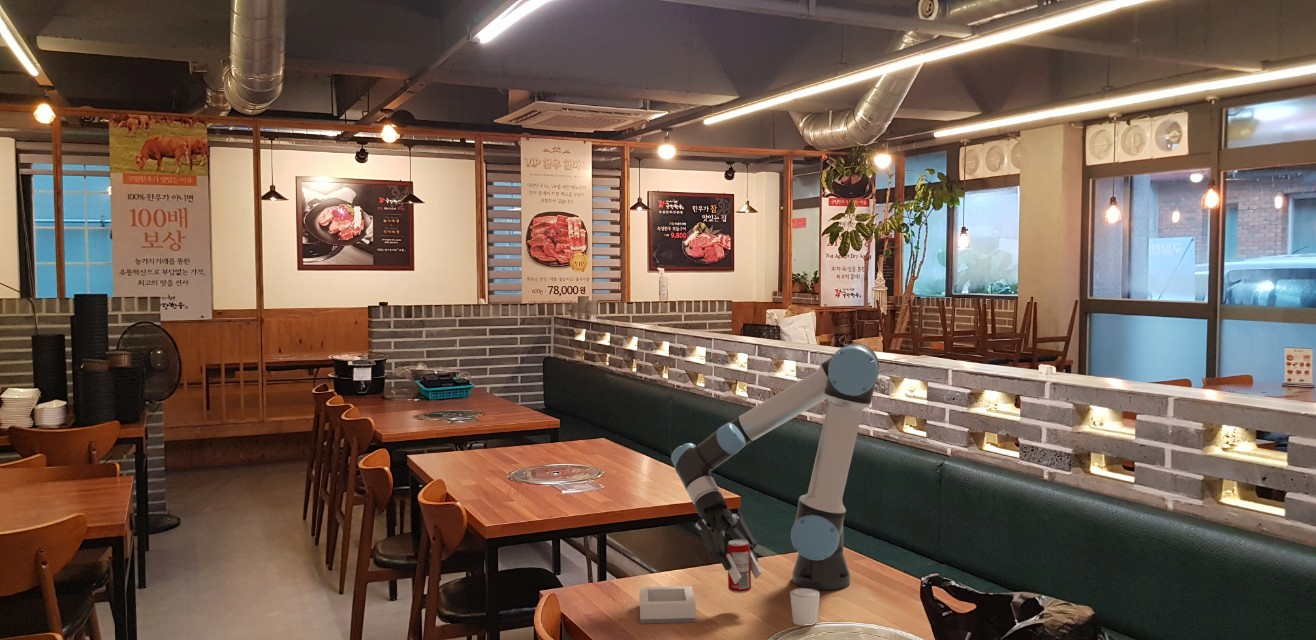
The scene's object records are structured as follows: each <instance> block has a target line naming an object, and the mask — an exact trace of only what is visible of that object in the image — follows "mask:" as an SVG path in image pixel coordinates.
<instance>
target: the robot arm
mask: <svg viewBox="0 0 1316 640" xmlns="http://www.w3.org/2000/svg"><path fill="white" fill-rule="evenodd" d="M877 356H878V355H876V353H875V351H874V350H873V349H872V348H870V347H869V346H868V345H865V344H862V343H856V342H855V343H848V344H846V345H844V346H842V347H841V348H839V349H838V350H837V351H836V352H835V353H834V354H833V355H832V356H831V357H830V358H828V359H827V360H825V361H824V362H822V363H820V365H819V368H818V369H817V370H816V371H814V372H812V373H811V374H809V375H808V376H806V377H804V378H803V379H801V380H799V381H797V382H795V383H793V384H792V385H790V386H788V387H787V388H785V389H784V390H782V391H780V392H778V393H777V394H774V395H773V396H772V397H770V398H768V399H767V400H765V401H763V402H761V403H760V404H758V405H757V406H754V407H753V408H751V409H749V410H748V411H746V412H744V413H742V414H741V415H739V416H738V417H736V418H735V419H732V420H731V421H729V422H726V423H724V424H723V425H721V426H720V427H718V428H717V429H716V430H715V431H714V432H713V433H711V435H709V436H708V437H706V438H705V439H704V440H703V441H701V442H700V443H697V445H696V444H694V443H692V442H687V443H683V444H682V445H679V446H678V447H676V448H675V449H674V450H673V451H672V452H671V456H670V457H671V458H670V459H671V463H672V464H673V467H674V469H675V472H676V474H677V476H678V477H679V479H680V481H681V482H682V485H683V486H684V488H685V491H686V492H687V495H688V497H689V498H690V501H691V502H692V504H693V505H694V508H695V510H696V512H697V514H698V516H699V518H701V519H698V520H697V522H696V523H695V524H694V528H695V529H696V531H697V532H698V533H699V535H700V538H701V539H702V542H703V544H704V546H705V549H706V550H707V553H708V555H709V557H710V559H712V560H715V559H716V562H718V563H719V562H720V563H721V565H722V567H723V568H724V570H725V571H727V573H728V572H729V574H730V576H731V578H732V580H733V582H734V584H735V583H738V581H739V580H740V579H741V575H740V573H739V571H738V569H737V567H736V565H735V563H734V561H733V559H732V557H731V555H730V554H727V550H726V547H725V543H724V542H725V541H724V538H723V533H722V532H725V534H726V535H729V537H730V538H731V539H732V540H746V541H748V543H749V547H750V568H751V574H752V575H753V577H754V579H755V580H756V579H759V577H760V576H761V575H762V573H763V570H762V568H761V567H760V565H759V563H758V562H759V560H758V557H757V555H756V553H755V552H754V550H755V548H756V547H757V546H758V543H757V541H756V539H755V538H754V537H755V536H754V535H753V534H752V532H751V530H750V528H749V527H748V525H747V523H746V522H745V520H744V517H743V513H742V512H737V514H736V513H732V512H731V510H729V509H728V506H727V501H726V500H725V498H724V496H723V494H722V493H721V491H720V489H719V486H718V485H717V483H716V481H715V479H714V477H713V475H712V474H711V472H712V471H714V470H715V469H716V468H717V467H719V466H720V465H722V464H723V463H724V462H726V461H728V460H729V459H730V458H731V457H733V456H734V455H737V454H738V453H739V452H740V451H741V450H742V449H743V448H745V446H747V445H749V444H750V443H752V442H753V441H755V440H757V439H759V438H760V437H763V436H764V435H766V434H767V433H769V432H772V430H775V429H777V428H778V427H780V426H781V425H783V424H785V423H787V422H788V421H790V420H792V419H794V418H796V417H797V416H799V415H800V414H803V413H805V412H806V411H808V410H809V409H811V408H813V407H815V406H816V405H818V404H820V403H822V402H824V401H825V400H827V401H828V402H827V406H826V411H825V416H824V420H823V424H822V429H821V433H820V438H819V442H818V446H817V450H816V455H815V460H814V464H813V468H812V473H811V478H810V481H809V486H808V490H807V493H806V494H803V495H800V496H799V497H798V503H797V511H796V515H795V519H794V523H793V526H792V527H791V530H790V539H791V543H792V546H793V548H794V549H795V551H796V552H797V553H798V554H797V557H796V560H795V563H794V566H793V569H792V583H794V584H795V585H796V586H799V587H800V588H809V589H814V590H817V591H820V590H821V591H822V590H823V591H826V590H828V591H831V590H838V589H842V588H846V587H848V586H849V585H850V584H851V572H850V569H849V566H848V564H847V561H846V557H845V555H844V520H845V515H846V512H847V509H846V507H845V505H844V503H843V502H844V501H843V497H844V493H845V489H846V484H847V480H848V475H849V470H850V466H851V463H852V459H853V454H854V450H855V445H856V441H857V436H858V431H859V428H860V424H861V420H862V414H863V412H864V409H866V408H867V407H869V406H870V405H871V403H872V399H873V395H874V391H875V387H876V383H877V380H878V377H879V372H880V371H879V370H880V362H879V358H878V357H877Z"/></svg>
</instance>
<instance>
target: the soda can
mask: <svg viewBox="0 0 1316 640" xmlns="http://www.w3.org/2000/svg"><path fill="white" fill-rule="evenodd" d="M727 554H730V555H731V557H732V559H733V561H734V563H735V565H736V567H737V569H738V571H739V573H740V575H741V579H740V580H739V581H738V583H735V584H734V582H733V580H732V578H731V576H730V574H729V572H728V571H727V585H728V588H727V589H728V591H730V592H731V593H734V594H744V593H749V591H750V590H751V589H752V576H751V574H752V572H751V568H750V547H749V543H748V541H746V540H733V539H732V540H729V541H728V543H727V547H726V555H727Z"/></svg>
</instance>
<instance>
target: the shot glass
mask: <svg viewBox="0 0 1316 640" xmlns="http://www.w3.org/2000/svg"><path fill="white" fill-rule="evenodd" d="M789 593H790V594H789V596H790V604H791V615H792V622H793V624H795V625H797V624H798V625H797V626H801V625H805V624H813V623H818V619H819V607H820V596H821V595H820V594H821V593H820V590H817V589H809V588H805V587H798V588H794V589H792V590H790V591H789Z"/></svg>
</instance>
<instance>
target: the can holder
mask: <svg viewBox="0 0 1316 640" xmlns="http://www.w3.org/2000/svg"><path fill="white" fill-rule="evenodd" d="M693 590H694V589H693V586H692V585H678V586H676V585H675V586H674V585H673V586H641V587H639V589H638V591H639V598H638V599H639V603H638V604H639V619H640V620H639V621H640V624H670V623H671V624H673V623H697V621H696V620H697V610H696V609H697V608H696V606H697V605H696V604H697V603H696V599H695V595H694V591H693Z"/></svg>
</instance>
